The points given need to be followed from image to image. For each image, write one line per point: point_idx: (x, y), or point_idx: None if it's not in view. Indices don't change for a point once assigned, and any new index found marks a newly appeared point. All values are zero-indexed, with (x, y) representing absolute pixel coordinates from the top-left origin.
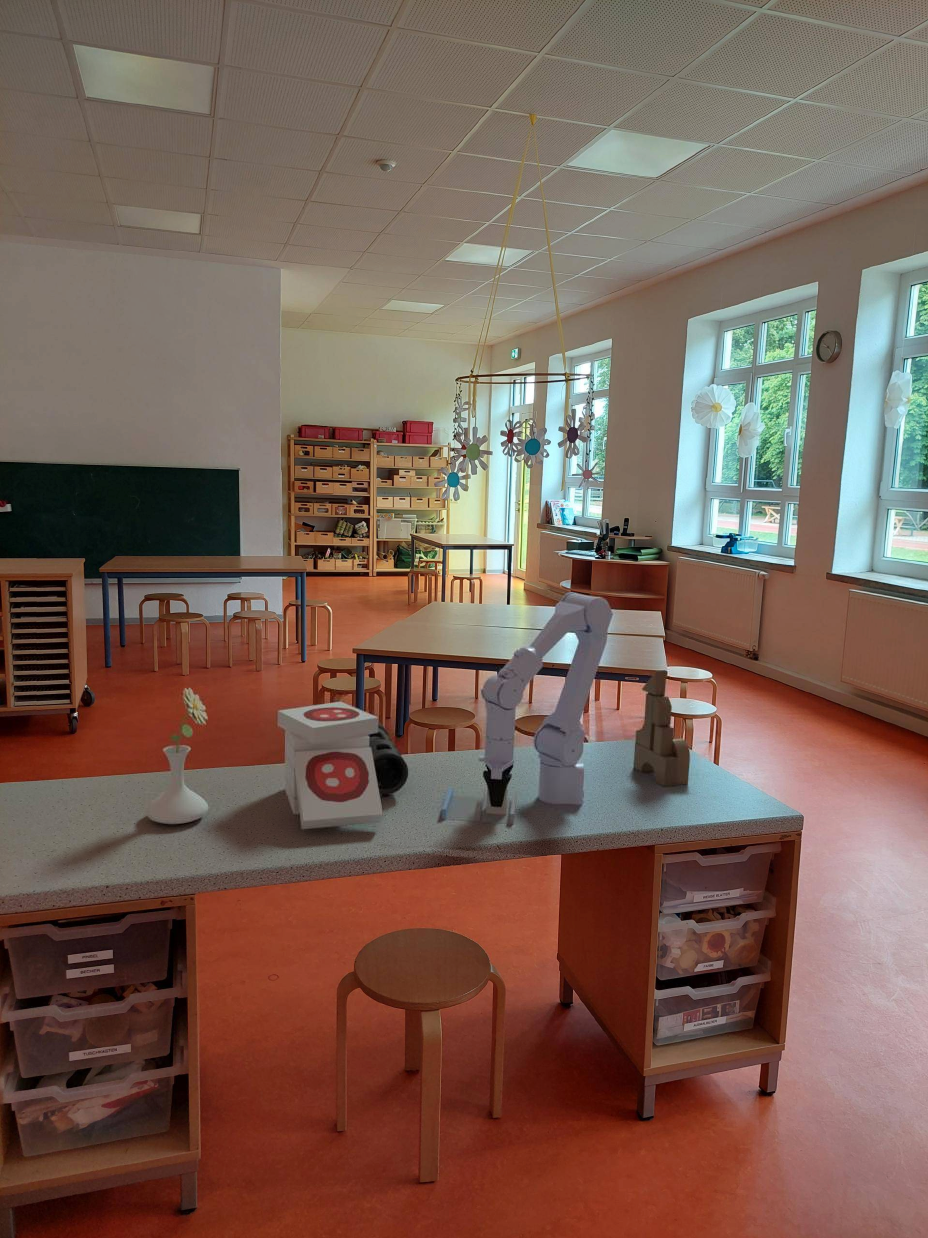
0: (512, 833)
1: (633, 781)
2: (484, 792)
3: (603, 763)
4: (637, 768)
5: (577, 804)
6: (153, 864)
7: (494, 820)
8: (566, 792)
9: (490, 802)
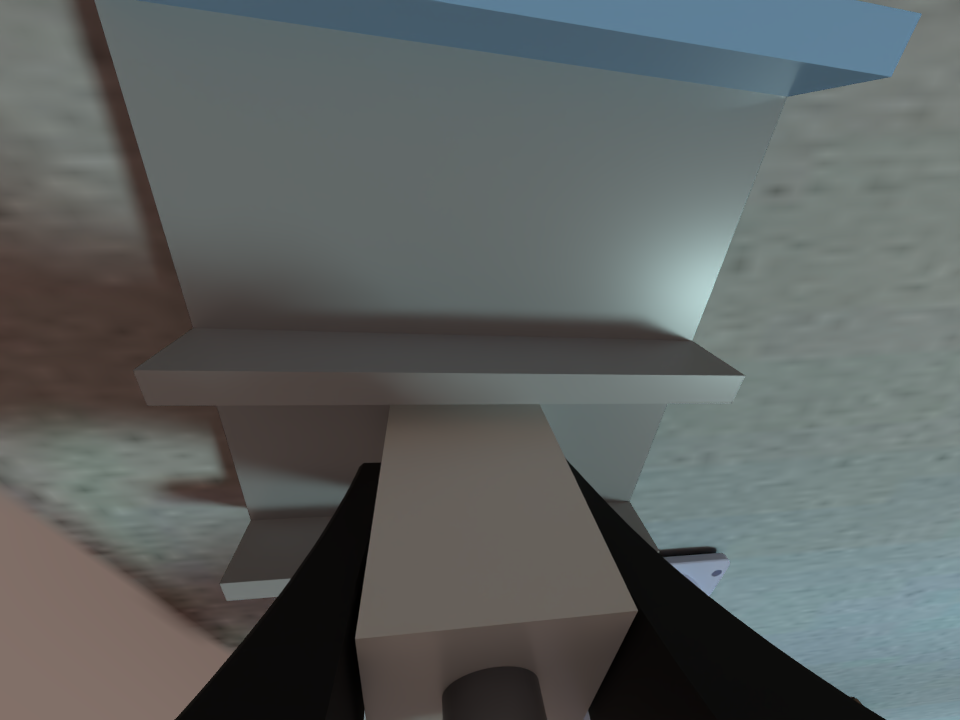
0: (200, 511)
1: None
2: (657, 401)
3: (923, 653)
4: None
5: None
6: None
7: (266, 447)
8: (587, 715)
9: (352, 484)
